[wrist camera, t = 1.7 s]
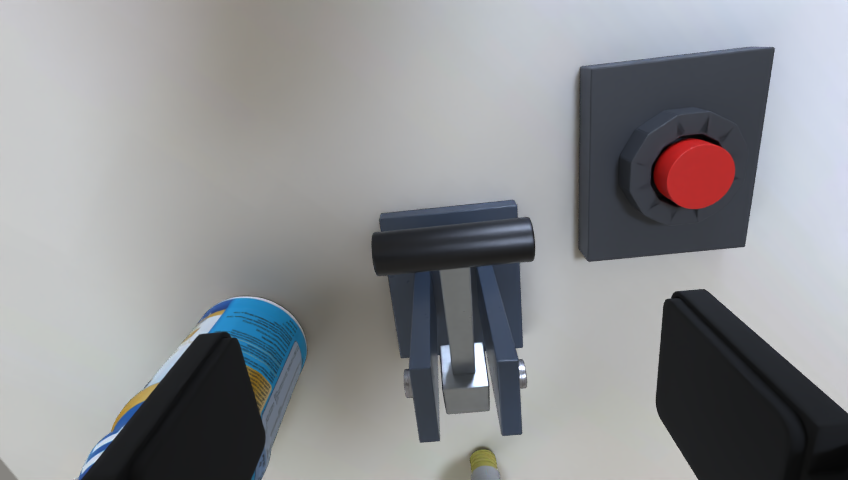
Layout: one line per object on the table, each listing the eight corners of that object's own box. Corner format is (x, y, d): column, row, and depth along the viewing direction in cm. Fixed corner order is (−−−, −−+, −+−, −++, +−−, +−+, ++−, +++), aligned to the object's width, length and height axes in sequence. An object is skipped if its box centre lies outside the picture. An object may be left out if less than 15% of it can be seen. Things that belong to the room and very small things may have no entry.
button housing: (579, 66, 29) (601, 70, 25) (751, 46, 29) (799, 47, 25) (578, 248, 34) (596, 274, 30) (726, 234, 33) (763, 258, 29)
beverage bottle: (323, 376, 38) (222, 696, 19) (221, 392, 39) (29, 716, 20) (292, 282, 35) (137, 555, 16) (181, 300, 35) (-89, 583, 17)
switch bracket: (380, 213, 33) (353, 310, 21) (514, 199, 32) (563, 291, 20) (401, 349, 37) (388, 494, 25) (520, 338, 36) (564, 481, 25)
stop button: (655, 141, 27) (669, 148, 26) (721, 134, 27) (739, 140, 25) (651, 202, 29) (664, 212, 27) (713, 196, 28) (731, 205, 27)
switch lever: (372, 215, 17) (369, 266, 16) (525, 199, 17) (539, 249, 16) (413, 374, 26) (414, 417, 25) (514, 365, 26) (522, 408, 24)
